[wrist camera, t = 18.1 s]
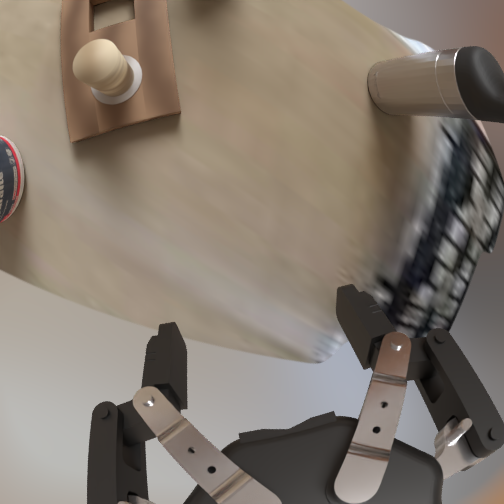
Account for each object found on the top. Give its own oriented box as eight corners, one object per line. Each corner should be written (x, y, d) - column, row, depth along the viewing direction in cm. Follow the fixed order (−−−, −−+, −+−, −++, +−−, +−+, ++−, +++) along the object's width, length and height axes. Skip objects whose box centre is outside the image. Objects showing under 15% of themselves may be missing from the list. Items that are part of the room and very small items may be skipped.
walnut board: (163, -32, 21) (163, -41, 19) (180, 113, 31) (180, 110, 29) (68, -4, 19) (62, -11, 17) (77, 142, 29) (70, 142, 27)
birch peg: (132, 58, 25) (116, 32, 17) (136, 90, 27) (120, 73, 18) (97, 69, 24) (71, 48, 16) (101, 101, 26) (74, 89, 18)
